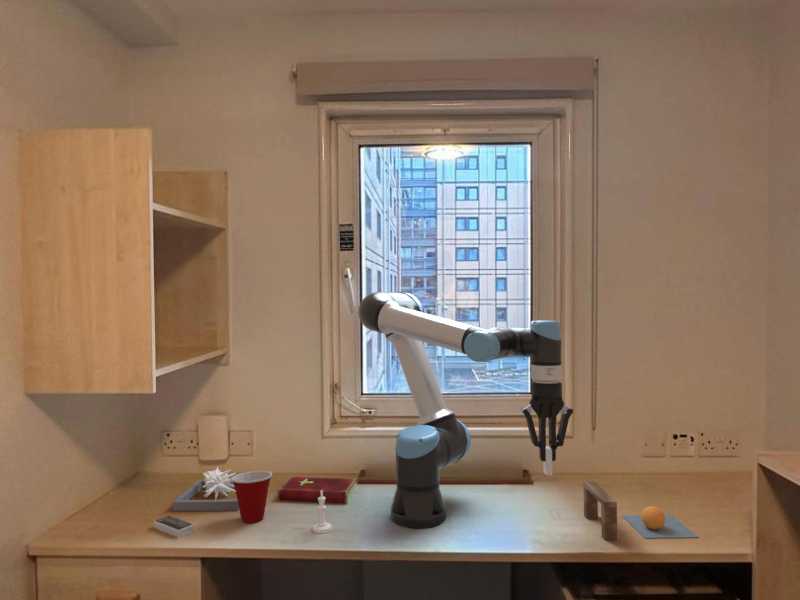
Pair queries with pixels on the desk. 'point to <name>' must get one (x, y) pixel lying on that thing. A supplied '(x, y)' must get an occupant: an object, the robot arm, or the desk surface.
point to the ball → (653, 517)
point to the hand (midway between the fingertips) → (547, 473)
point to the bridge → (608, 508)
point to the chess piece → (322, 517)
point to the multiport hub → (173, 526)
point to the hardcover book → (317, 489)
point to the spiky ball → (217, 482)
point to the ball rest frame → (202, 501)
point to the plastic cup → (252, 494)
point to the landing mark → (669, 529)
